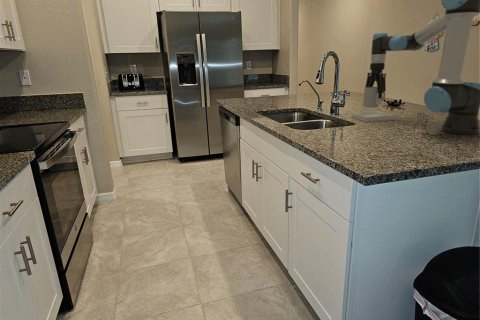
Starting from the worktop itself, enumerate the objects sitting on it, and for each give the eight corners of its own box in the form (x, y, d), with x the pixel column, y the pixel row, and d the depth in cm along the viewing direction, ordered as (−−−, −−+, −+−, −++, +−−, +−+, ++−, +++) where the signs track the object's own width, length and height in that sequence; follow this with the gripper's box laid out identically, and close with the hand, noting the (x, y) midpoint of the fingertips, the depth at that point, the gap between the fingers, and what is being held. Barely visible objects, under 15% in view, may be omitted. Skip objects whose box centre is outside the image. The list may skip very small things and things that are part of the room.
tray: (376, 115, 195) (377, 111, 194) (393, 120, 181) (394, 115, 180) (351, 117, 192) (351, 112, 191) (366, 122, 177) (366, 117, 177)
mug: (366, 107, 180) (368, 88, 176) (360, 105, 188) (362, 87, 184) (387, 107, 180) (389, 87, 176) (380, 105, 188) (382, 86, 184)
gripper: (360, 62, 186) (357, 101, 193) (383, 63, 166) (379, 105, 173) (372, 62, 187) (368, 100, 194) (396, 62, 167) (391, 105, 174)
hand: (373, 103), depth 183 cm, fingers closed on mug, 8 cm apart
